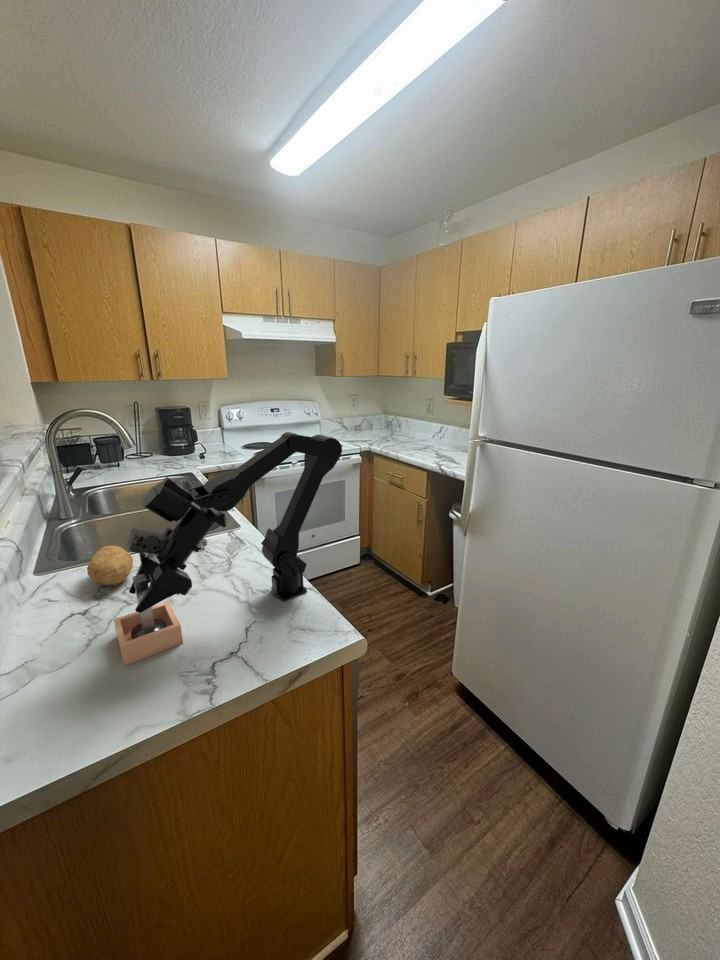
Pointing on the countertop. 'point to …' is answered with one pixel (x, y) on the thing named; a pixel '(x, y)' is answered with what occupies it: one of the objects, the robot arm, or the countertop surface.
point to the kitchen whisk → (204, 543)
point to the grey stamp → (146, 616)
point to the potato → (110, 565)
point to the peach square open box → (149, 642)
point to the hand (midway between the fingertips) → (134, 601)
